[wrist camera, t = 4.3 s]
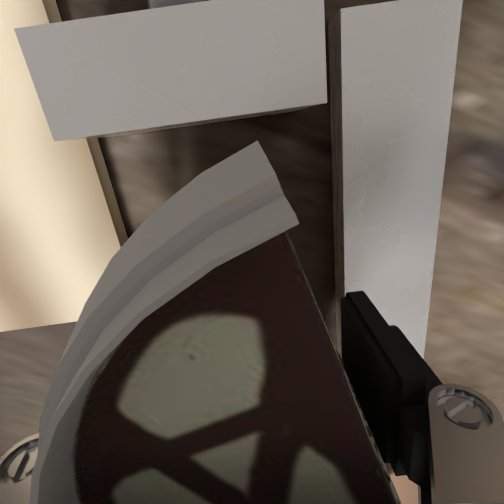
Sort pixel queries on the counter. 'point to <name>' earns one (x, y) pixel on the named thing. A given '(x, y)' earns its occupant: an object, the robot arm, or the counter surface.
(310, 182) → the counter surface
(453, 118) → the counter surface
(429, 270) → the vise
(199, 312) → the food container
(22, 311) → the light wood flat board
